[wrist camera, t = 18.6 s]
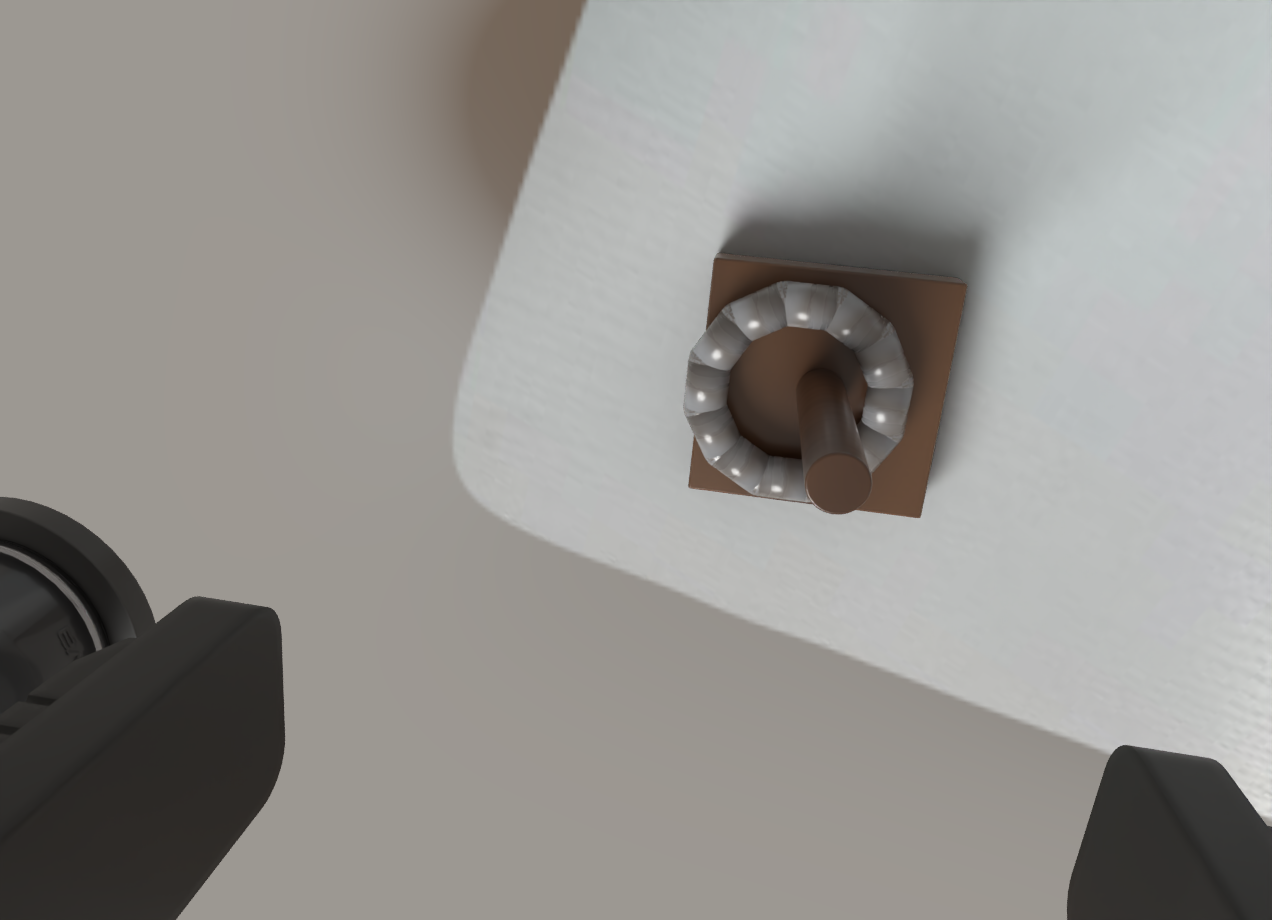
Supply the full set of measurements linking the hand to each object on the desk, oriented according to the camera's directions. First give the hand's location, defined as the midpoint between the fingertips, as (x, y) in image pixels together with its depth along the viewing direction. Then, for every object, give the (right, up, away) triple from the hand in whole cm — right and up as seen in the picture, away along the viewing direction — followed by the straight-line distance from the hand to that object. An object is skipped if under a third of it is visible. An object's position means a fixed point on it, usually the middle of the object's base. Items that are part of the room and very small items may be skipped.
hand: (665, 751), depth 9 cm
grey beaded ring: (+5, +5, +21) cm, 22 cm away
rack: (+6, +6, +23) cm, 25 cm away
